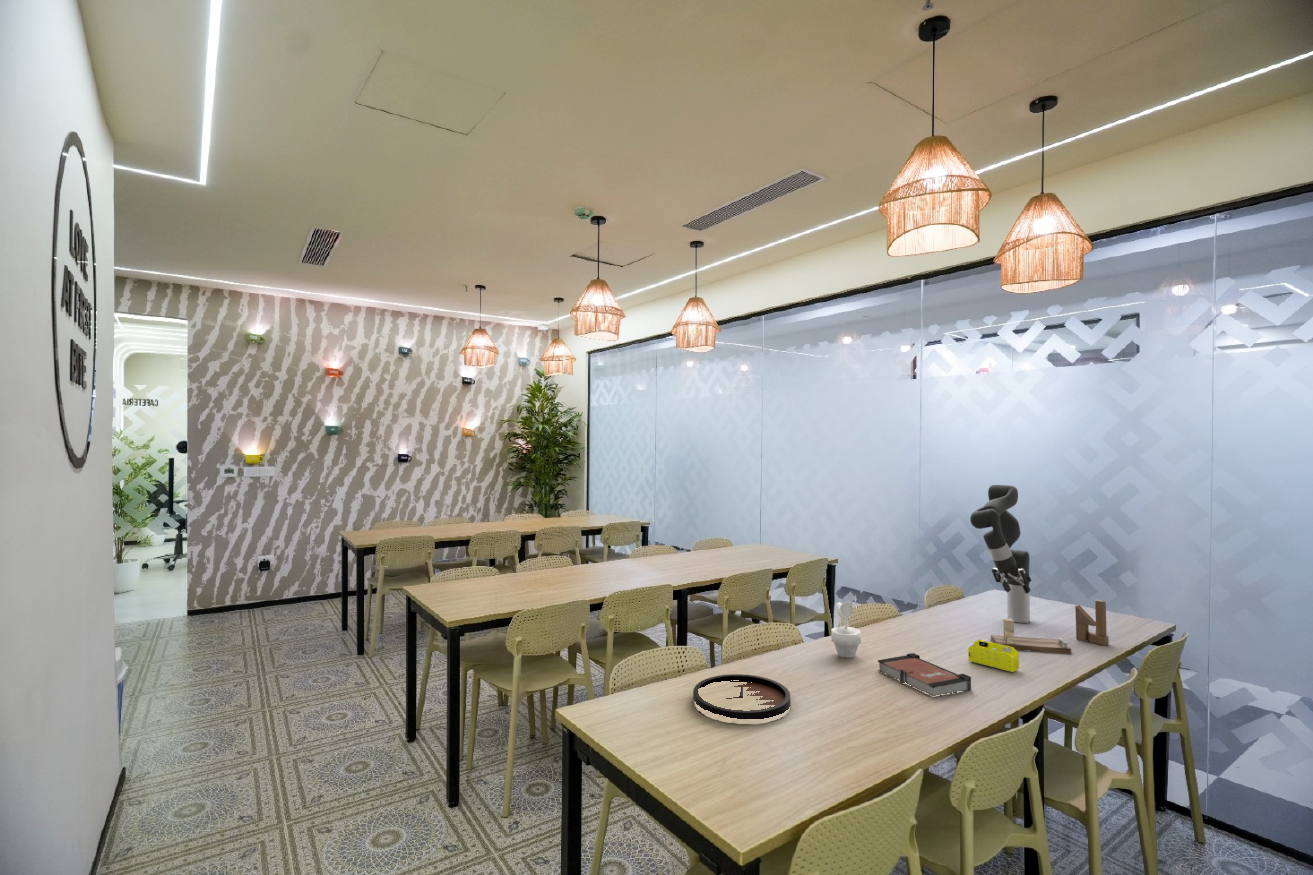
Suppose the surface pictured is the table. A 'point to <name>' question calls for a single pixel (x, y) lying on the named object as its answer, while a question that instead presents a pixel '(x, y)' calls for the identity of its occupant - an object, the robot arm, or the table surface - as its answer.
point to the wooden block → (1092, 624)
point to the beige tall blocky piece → (1008, 630)
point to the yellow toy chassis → (994, 655)
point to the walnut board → (1035, 644)
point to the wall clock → (764, 685)
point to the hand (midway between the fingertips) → (1018, 591)
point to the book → (924, 675)
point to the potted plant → (846, 632)
